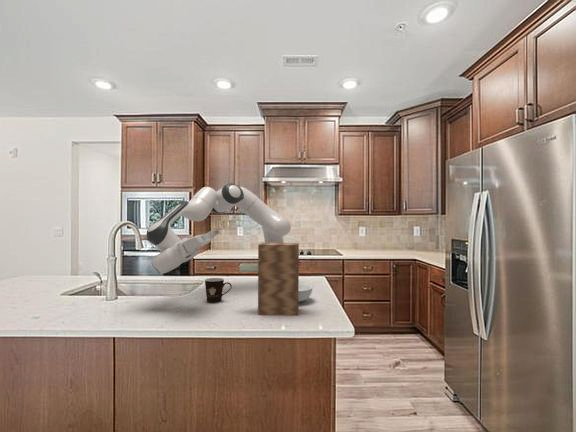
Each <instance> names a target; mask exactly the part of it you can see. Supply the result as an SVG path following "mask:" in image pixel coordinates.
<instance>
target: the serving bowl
mask: <svg viewBox="0 0 576 432" xmlns="http://www.w3.org/2000/svg"><path fill="white" fill-rule="evenodd" d="M312 292H313V286H311V285H310V284H307V283H302V282H299V298H298V303H300V302H303V301H306V300H307V299H309V297H310V296H311V295H312Z"/></svg>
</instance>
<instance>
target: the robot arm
mask: <svg viewBox="0 0 576 432" xmlns="http://www.w3.org/2000/svg"><path fill="white" fill-rule="evenodd" d="M234 206H235V207H238V209H239V210H241V212H243V213H244V214H245V215H246V216H247V217H249V218H250V219H251V220H252V221H254V222H255V223H257V224H258V225H260V226H261V229H262V231H263V232H262V233H263V238H264V243H285V242H284V237H285V236H287V235H288V234H289V233H290V232H291V228H292V227H291V222H290V221H289V220H288V219H287V218H285V217H284V216H283V215H281V214H280V213H278V212H277V211H276V210H274V208H271V207H270V206H268V205H267V204H266V203H265V202H264V201H263V200H262V199H260V198H259V197H258V196H257V195H256V194H254V193H253V192H252V191H251V190H249V189H248V188H246V187H244V186H239V185H238V184H236V183H232V182H231V183H227V184H224V185H223V187H221V188H219V189H218V190H217V191H216V190H215V189H214V188H212V186H211V187H210V186H204V187H202V188H201V189H199V190H198V191H197V192H196V193H195V194H193V196H192V197H191V199H190V200H189V201H187V200H184V201H181V202H179V203H178V204H176V205H174V207H172V208H171V209H170V210H169V211H168V212H166V213H165V214H164V215H163V216H162V217H160V218H159V219H158V220H157V221H155V222H154V223H152V224H151V225H150V226H149V227H148V228H147V229H146V240H147V241H148V242H150V243H151V244H152V245H153V246H154V247H155V248H156V249H157V250H158V251H159V253H158V254H157V255H156V256H154V257H153V258H152V259H151V260H150V261H151V265H152V267H153V269H154V270H155V271H156V272H158V273H159V274H162V275H163V274H167V273H168V272H171V271H173V270H174V269H177V268H178V267H180V266H181V264H183V263H186V262H188V261H189V260H191V259H193V258H195V257H197V256H198V252H199V250H200V248H202V247H203V246H205V245H208V244H209V243H211V242H212V241H215V240H214V239H215V238H214V237H216V236H217V235H219V234H220V233H221V232H220V230H219V229H215V230H210V231H208V232H207V233H206V232H205V233H202V234H197V235H195V236H192V237H190V238H189V237H184V238H182V239H181V238H180V237H179V236H178V235H177V234H176V233H175V232H174V230H172V227H171V225H172V224H173V223H174V222H175V221H176V220H177V219H178V218H180V217H183V218H186V219H188V220H189V221H192V222H203V221H204V220H206V219H207V218H208V216H209V215H210V213H211V212H212V213H214V214H217V215H222V214H225V213H227V212H228V211H229V210H231V209H232V208H233V207H234Z"/></svg>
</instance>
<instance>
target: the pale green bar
mask: <svg viewBox="0 0 576 432" xmlns="http://www.w3.org/2000/svg"><path fill="white" fill-rule="evenodd" d="M239 273H258V263H241V264H239Z"/></svg>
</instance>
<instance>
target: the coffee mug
mask: <svg viewBox="0 0 576 432" xmlns="http://www.w3.org/2000/svg"><path fill="white" fill-rule="evenodd" d="M224 280H225V279H224V278H221V277H211V278H206V279H204V286H205V293H206V294H205V295H206V302H207V303H208V304H216V303H217V304H218V303H222V298H223V296H224V295H226V294H227V293H229V292H230V291H231V289H232V287H233V286H232V284H231V282H224ZM225 285H229V287H230V288H228V290H226V291H225V292H223V289H224V286H225Z"/></svg>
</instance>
